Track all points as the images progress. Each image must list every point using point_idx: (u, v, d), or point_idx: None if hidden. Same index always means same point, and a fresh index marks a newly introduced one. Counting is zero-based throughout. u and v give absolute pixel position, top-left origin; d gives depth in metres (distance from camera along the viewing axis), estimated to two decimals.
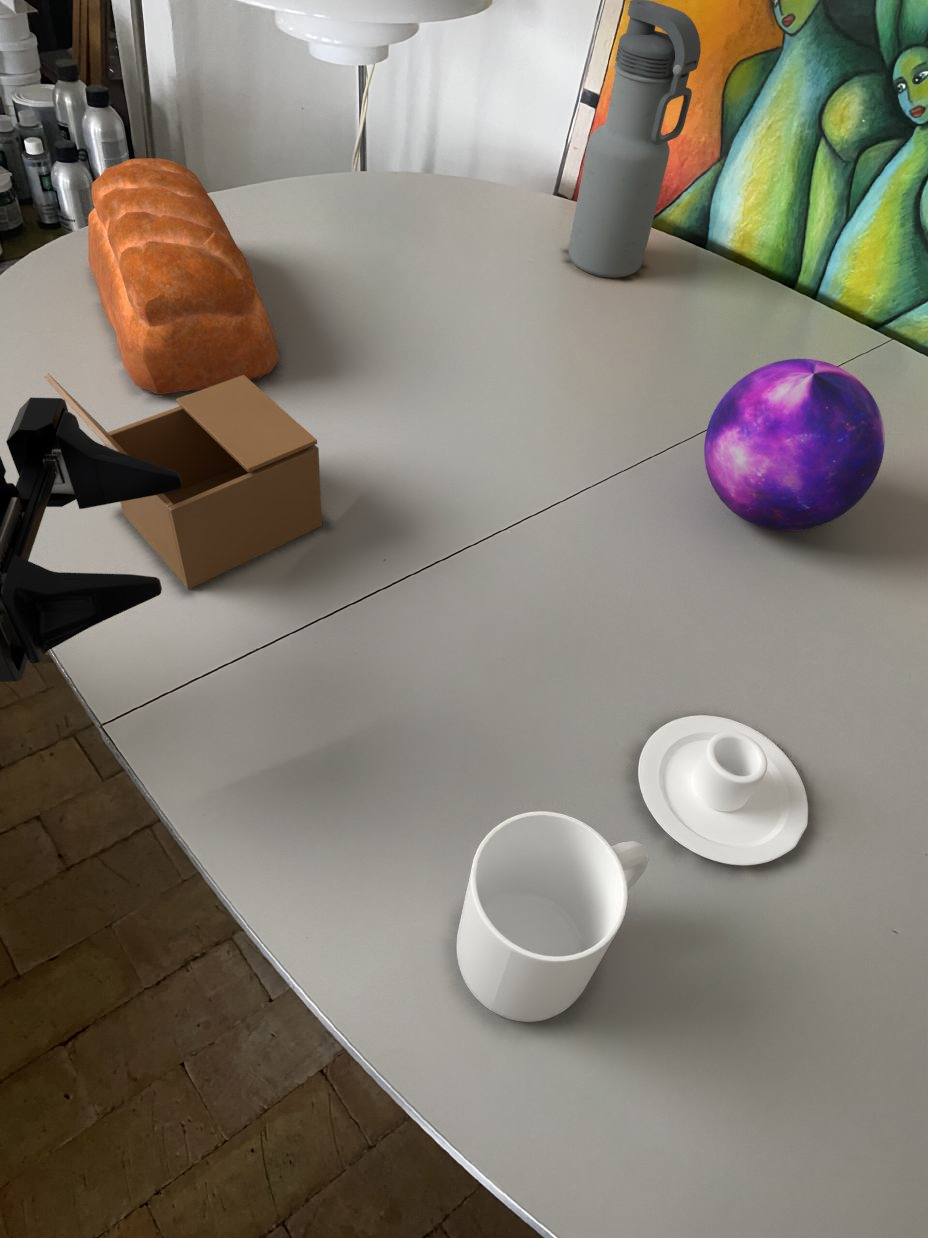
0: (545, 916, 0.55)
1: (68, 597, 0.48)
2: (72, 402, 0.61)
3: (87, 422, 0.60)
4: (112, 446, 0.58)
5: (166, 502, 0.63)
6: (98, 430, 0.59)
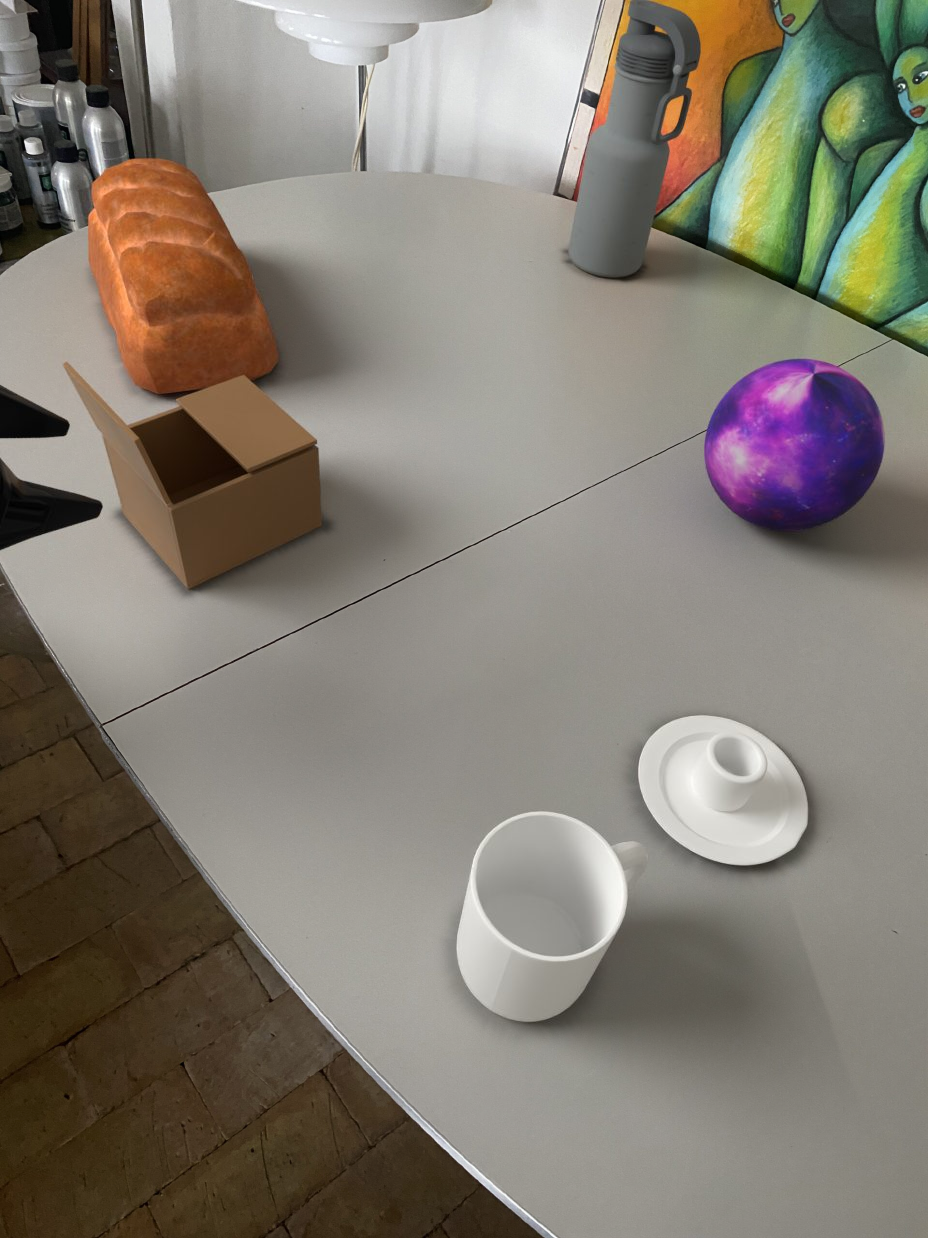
0: (545, 916, 0.55)
1: (27, 504, 0.51)
2: (91, 389, 0.61)
3: (106, 409, 0.60)
4: (132, 433, 0.58)
5: (167, 501, 0.63)
6: (117, 417, 0.59)
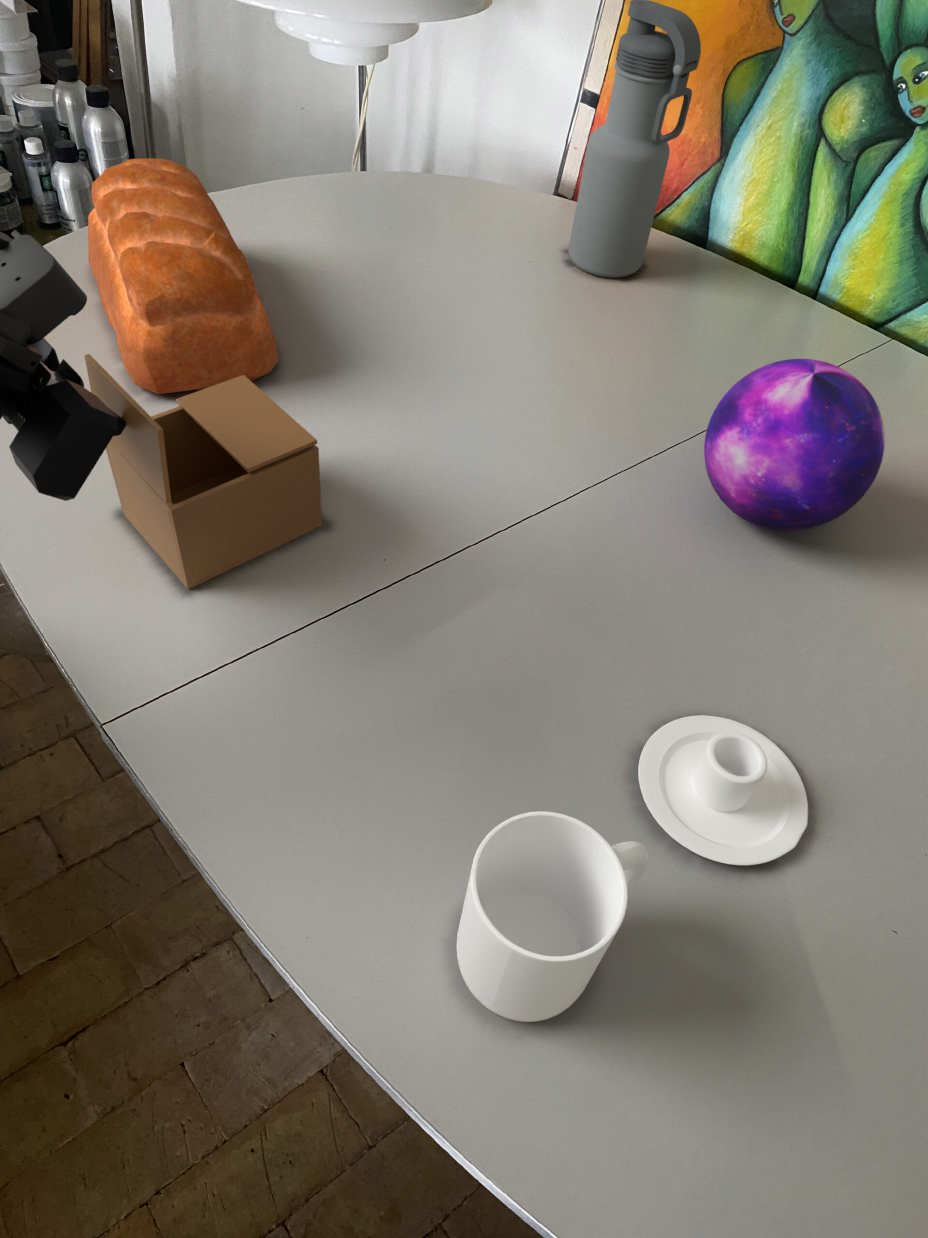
0: (545, 916, 0.55)
1: None
2: (114, 381, 0.62)
3: (129, 399, 0.61)
4: (155, 423, 0.59)
5: (168, 501, 0.63)
6: (141, 408, 0.60)
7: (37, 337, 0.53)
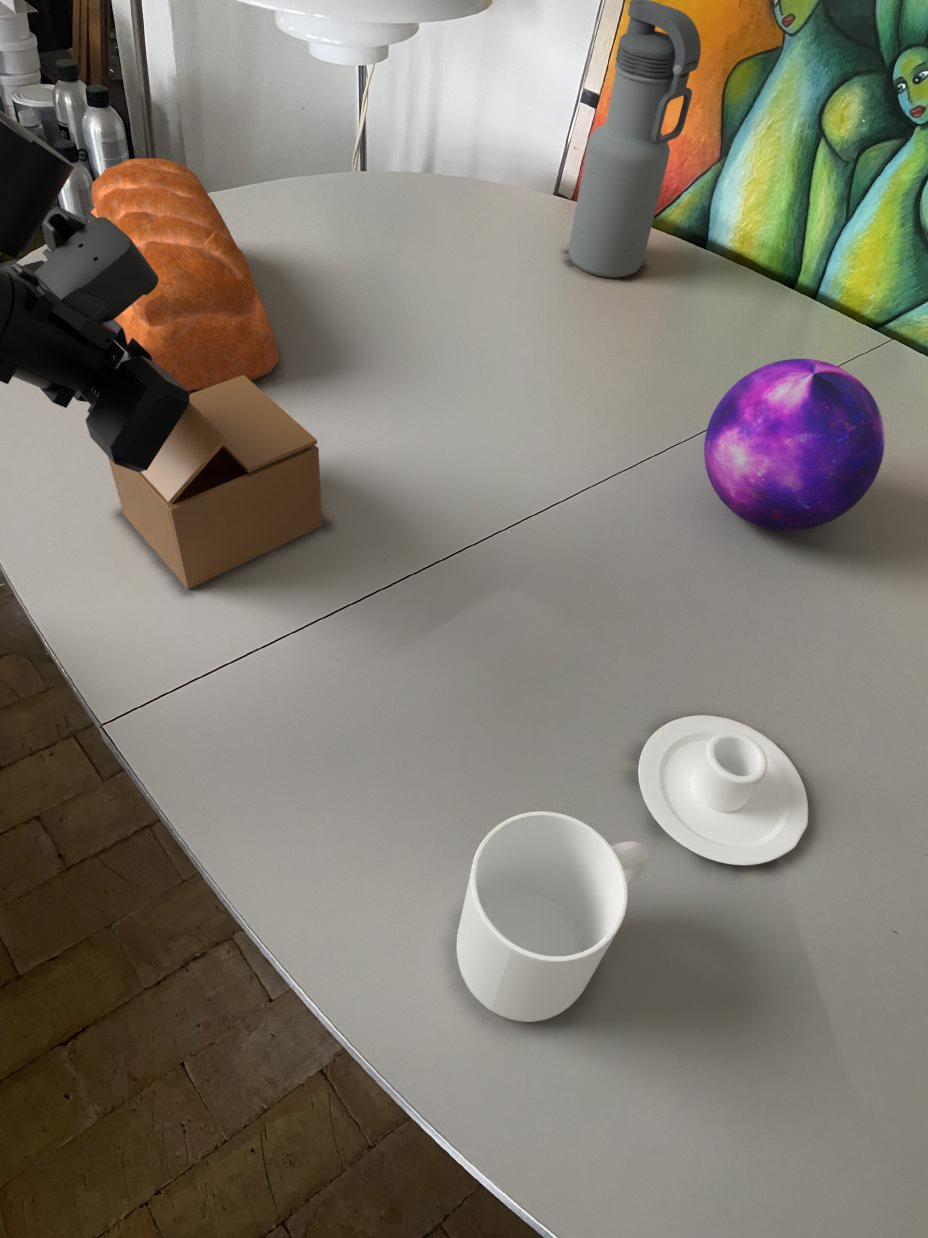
0: (545, 916, 0.55)
1: None
2: None
3: None
4: None
5: (171, 500, 0.63)
6: (207, 418, 0.65)
7: (112, 315, 0.55)
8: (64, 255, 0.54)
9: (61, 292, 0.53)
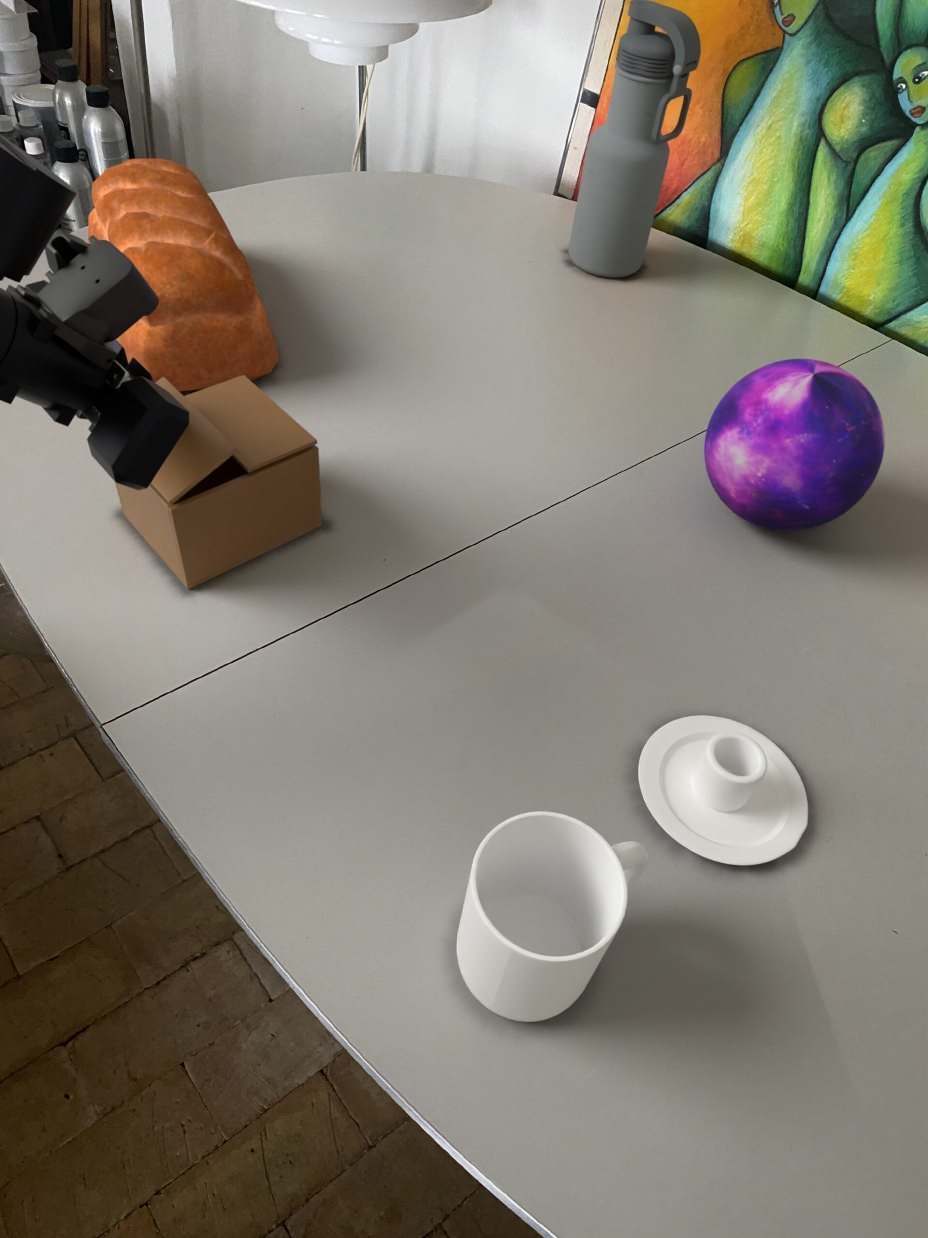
0: (545, 916, 0.55)
1: None
2: (191, 404, 0.68)
3: (207, 419, 0.66)
4: None
5: (172, 501, 0.63)
6: (217, 429, 0.66)
7: (113, 336, 0.56)
8: (66, 277, 0.55)
9: (63, 314, 0.54)
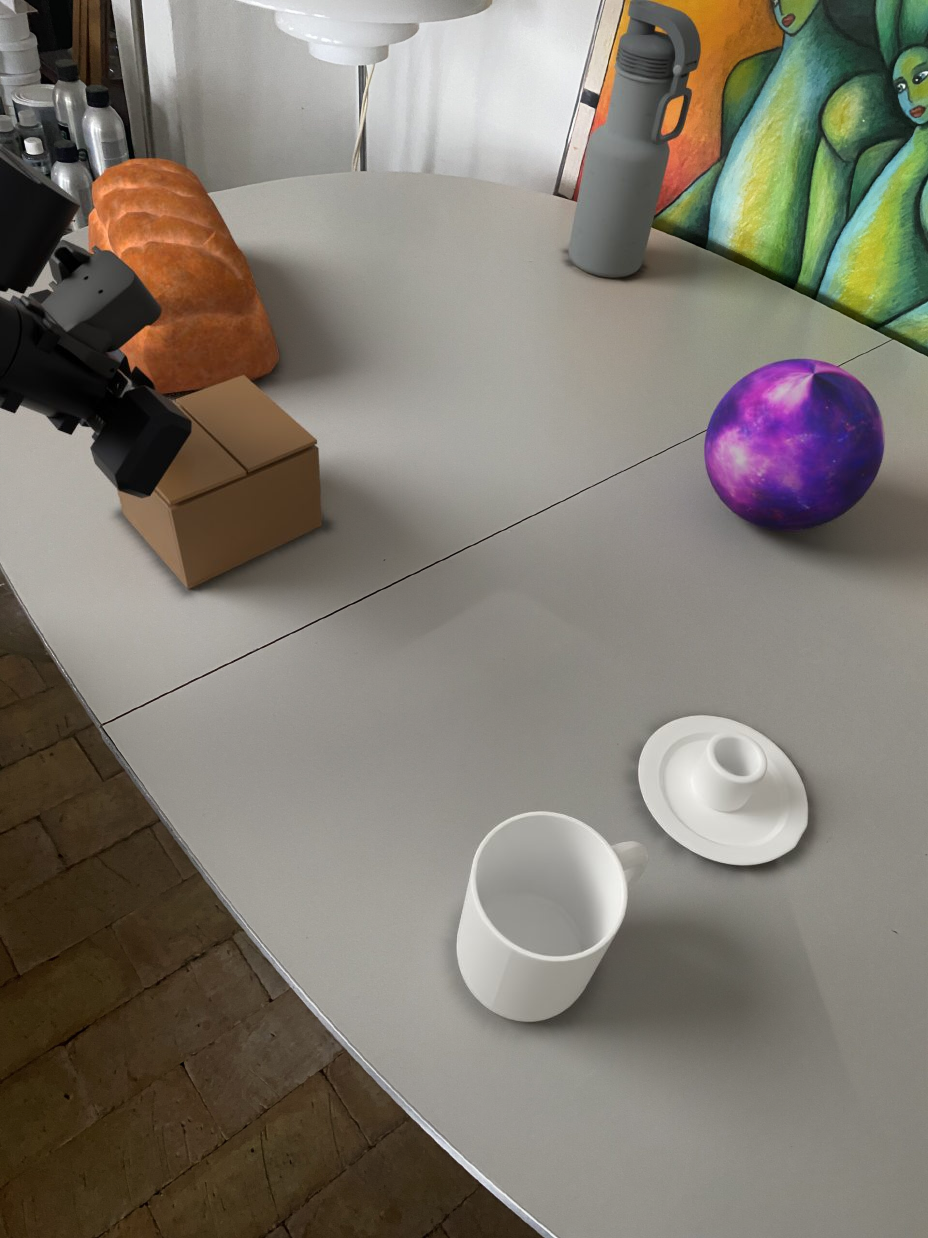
0: (545, 916, 0.55)
1: None
2: None
3: (217, 443, 0.68)
4: None
5: (173, 501, 0.64)
6: None
7: (116, 345, 0.56)
8: (70, 287, 0.56)
9: (67, 324, 0.54)
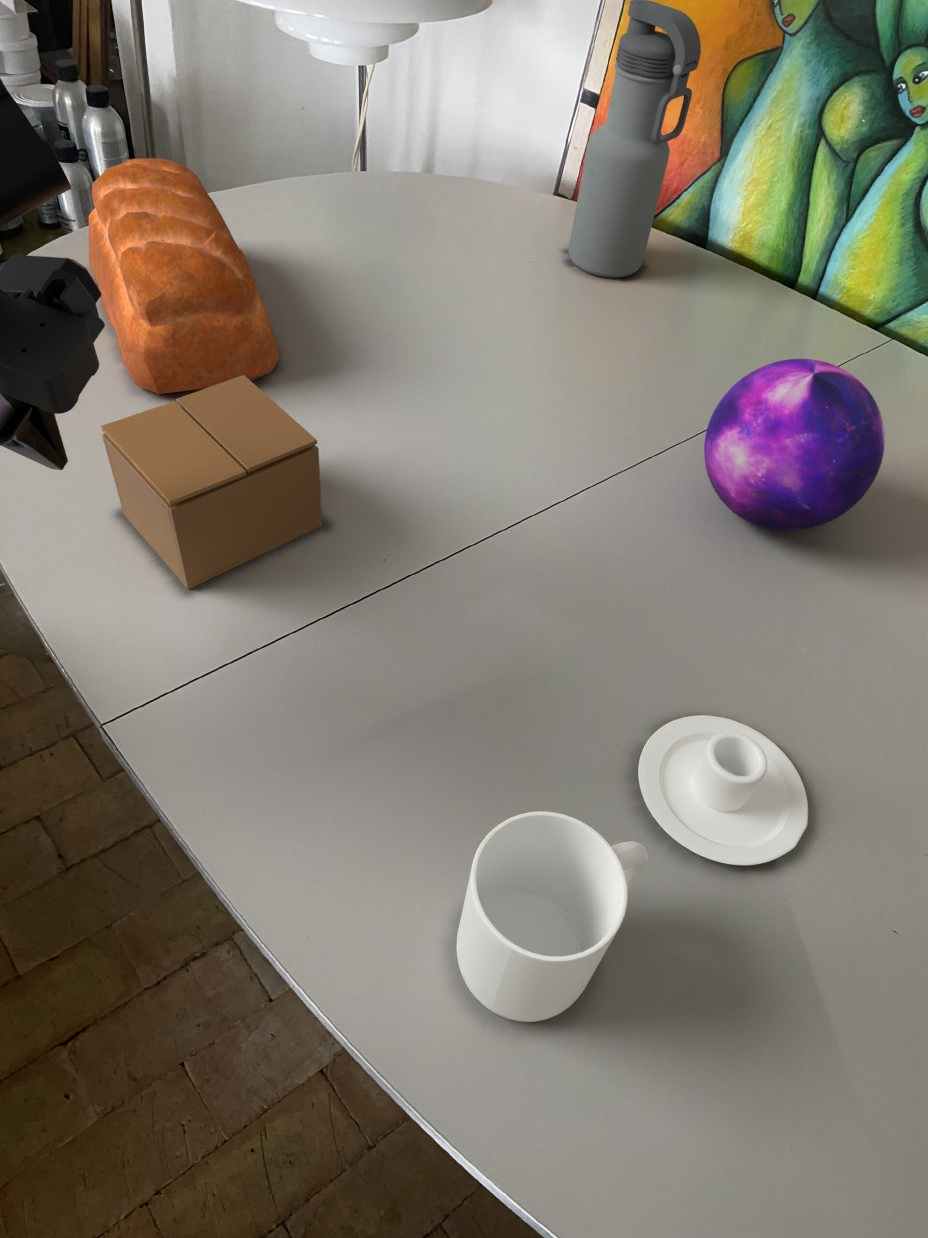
0: (545, 916, 0.55)
1: None
2: None
3: (217, 443, 0.68)
4: None
5: (173, 501, 0.64)
6: None
7: None
8: (24, 313, 0.49)
9: None
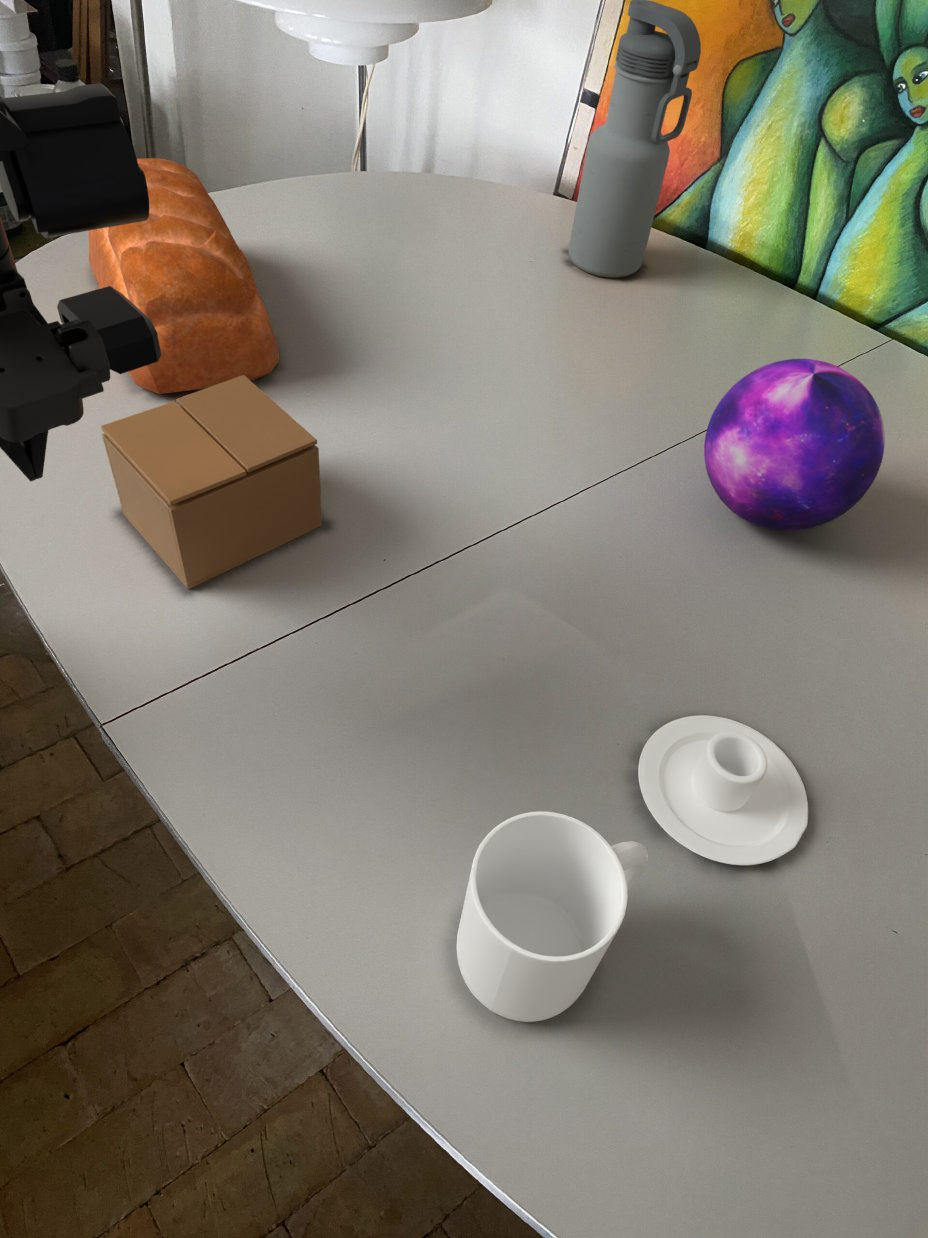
0: (545, 916, 0.55)
1: None
2: None
3: (217, 443, 0.68)
4: None
5: (173, 501, 0.64)
6: None
7: None
8: (33, 340, 0.47)
9: None
